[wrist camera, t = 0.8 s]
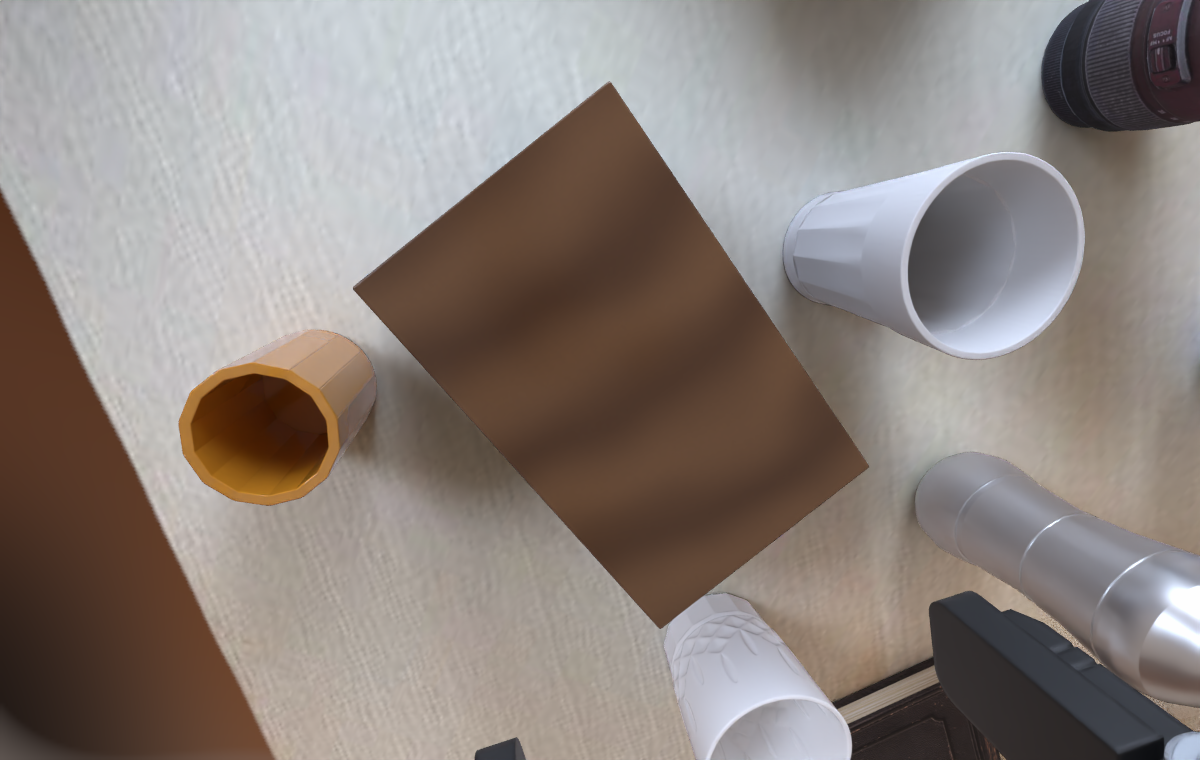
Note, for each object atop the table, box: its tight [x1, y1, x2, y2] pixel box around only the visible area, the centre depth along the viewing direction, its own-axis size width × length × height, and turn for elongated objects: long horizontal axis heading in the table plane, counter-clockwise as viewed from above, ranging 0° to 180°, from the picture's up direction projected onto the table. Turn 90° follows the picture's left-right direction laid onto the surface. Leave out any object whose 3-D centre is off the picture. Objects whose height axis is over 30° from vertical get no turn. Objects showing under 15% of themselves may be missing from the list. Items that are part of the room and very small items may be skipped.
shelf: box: [353, 81, 869, 629], centre depth 29 cm, size 18×11×12 cm, turn 38°
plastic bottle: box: [915, 452, 1200, 708], centre depth 31 cm, size 6×7×20 cm
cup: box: [783, 152, 1085, 360], centre depth 30 cm, size 8×8×12 cm
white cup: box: [664, 593, 852, 760], centre depth 36 cm, size 8×8×10 cm
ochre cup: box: [179, 330, 377, 506], centre depth 29 cm, size 6×6×8 cm
